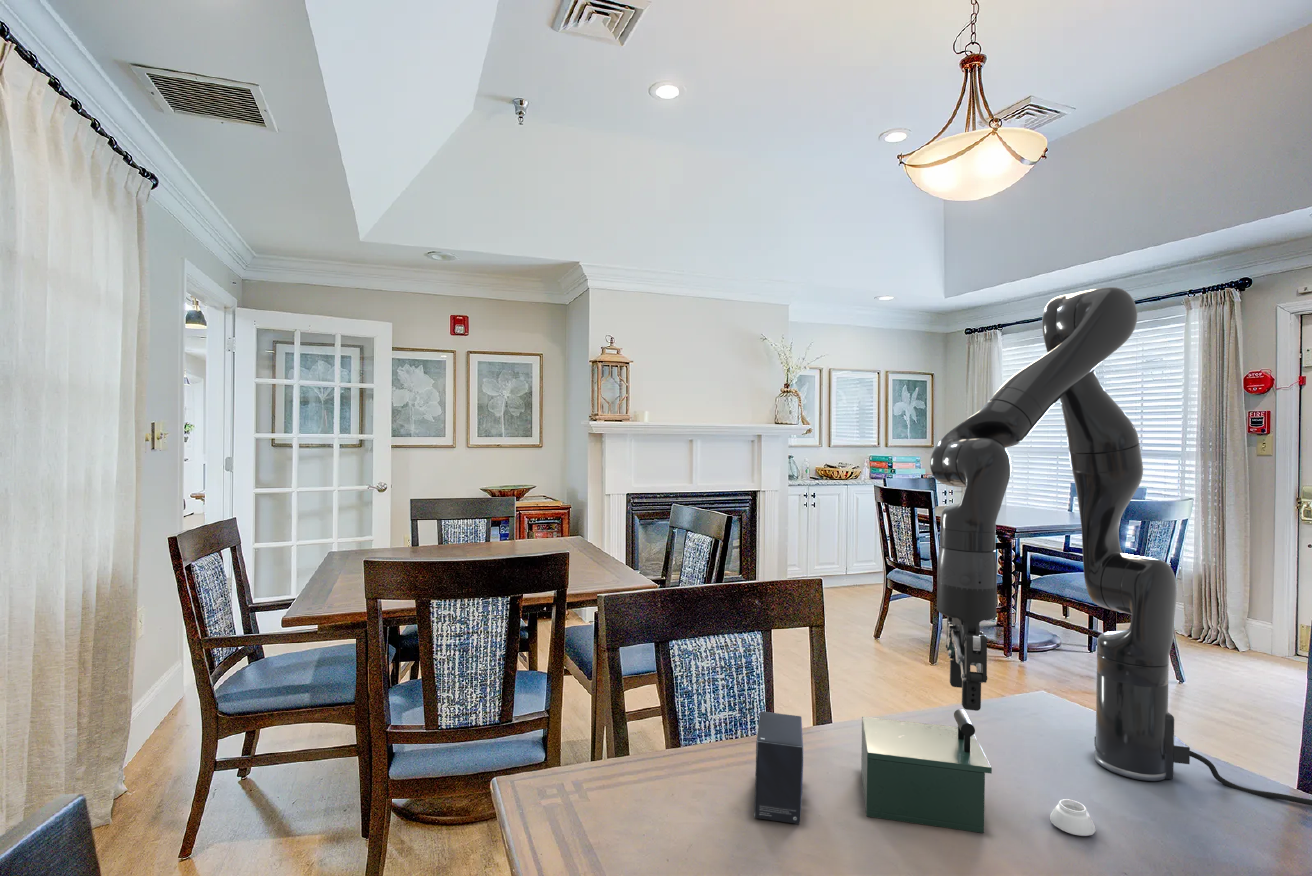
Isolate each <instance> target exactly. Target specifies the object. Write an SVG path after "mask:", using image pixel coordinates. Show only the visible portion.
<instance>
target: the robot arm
mask: <svg viewBox="0 0 1312 876" xmlns="http://www.w3.org/2000/svg"><path fill="white" fill-rule="evenodd" d="M1137 322H1138V309H1137V305H1136V301H1135V300H1134V298H1133V297H1132V295H1131V294H1130V293H1129V292H1128V291H1126V290H1124V289H1123V288H1119V287H1117V286H1116V287H1115V286H1105V287H1098V288H1092V289H1088V290H1082V291H1078V292H1077V291H1076V292H1072V293H1067V294H1062V295H1059V296H1056V297H1054V298H1052V299H1050V301H1048V303H1047V304H1046V306H1045V307H1044V310H1043V312H1042V317H1041V329H1042V337H1043V341H1044V345H1045V349H1046V352H1047V353H1045V354H1044V355H1042V356H1041V357H1040V358H1038V359H1036V360H1034V361H1033V362H1031V363H1030V364H1027V365H1026V366H1025V367H1023V368H1021V369H1020V370H1019V371H1017V372H1016V373H1014V374H1013V375H1011V377H1009V378H1008V379H1007V380H1006V381H1004V382H1003V383H1002V384H1001V386H999V387H998V388H997V389H996V390H995V392H994V393H993V394H992V395H991V396H990V398H989V399H988V400H987V401H986V402H985V403H984V404H983V406H982V407H981V408H980V409H979V410H978V411H977V412H976V413H974V414H972V415H971V416H969V417H968V418H966V419H965V420H963V421H962V422H960V423H959V424H958V425H956V426H955V427H954V428H952V429H951V430H950V431H948V432H947V433H946V434H944V436H942V437H941V438H940V440H938V442H937V443H936V444H935V446H934V447H933V450H932V452H931V455H930V459H929V469H930V472H931V474H932V476H933V477H934V479H935V480H936V481H938V482H939V483H941V484H943V485H945V486H949V487H957V488H964V491H963V495H962V497H961V500H960V502H959V503H956V504H949V505H947V506H945V507H944V508H943V509H942V511H941V514H940V524H939V525H940V526H939V527H940V528H939V529H940V530H939V553H938V558H937V573H936V575H937V578H936V581H937V582H936V589H937V590H936V610H937V611H938V613H939V614H941V615H943V616H945V617H946V644H945V648H946V651H948V652H947V656H948V659H949V684H950V686H951V687H953V688H959V689H961V706H962V707H963V710H967V711H976V712H977V711H980V710H981V707H982V684H983V683H984V684H985V683H987V681H988V641H989V640H988V638H987V635H985V633H984V632H983V631H981V626H980V624H981V622H983V621H991V620H993V619H995V618H996V616H997V604H998V603H997V599H998V598H997V597H998V596H997V595H998V563H997V555H996V554H997V553H996V552H997V551H996V539H997V533H996V532H997V531H996V530H997V519H998V517H999V513H1000V511H1001V507H1002V504H1003V501H1004V498H1005V494H1006V492H1007V488H1008V485H1009V483H1010V479H1011V478H1010V477H1011V472H1012V464H1011V463H1012V462H1011V457H1010V454H1009V452H1008V450H1007V448H1010V447H1014V446H1017V445H1019V444H1020V443H1022V441H1023V440H1025V438H1027V436H1028V435H1029V434H1030V433H1031V432H1032V431H1033V429H1034V428H1035V427H1036V426H1037V425H1038V423H1039V422H1040V421H1041V420H1042V419H1043V417H1044V416H1045V415H1046V414H1047V413H1048V411H1049V410H1050V409H1051V408H1052V407H1053V406H1054V405H1055V404H1056V403H1057V402H1058V401H1060V406H1061V412H1062V416H1063V422H1064V426H1065V432H1066V439H1067V449H1068V455H1069V461H1070V467H1071V472H1072V476H1073V481H1074V485H1075V486H1074V487H1075V491H1076V498H1077V504H1078V511H1079V512H1078V513H1079V519H1080V520H1079V521H1080V530H1081V544H1082V547H1081V548H1082V565H1083V566H1082V567H1083V576H1084V584H1085V588H1086V592H1087V594H1088V597H1089V598H1090V599H1091V601H1092V602H1093V603H1094V604H1095V605H1097V606H1098V607H1101V608H1104V609H1107V610H1110V611H1115V612H1117V613H1123V614H1127V615H1131V617H1130V623H1129V627H1128V628H1127V629H1125V630H1114V631H1113V630H1112V631H1105V632H1102V633H1100V634H1099V635H1098V637H1097V639H1096V682H1095V683H1096V688H1095V689H1096V690H1095V691H1096V694H1095V696H1096V697H1095V736H1094V749H1095V750H1094V760H1095V762H1096V763H1097V764H1098V765H1100V766H1101V767H1102V768H1104V769H1106V770H1108V771H1110V772H1112V773H1114V774H1117V775H1121V776H1123V777H1126V778H1129V779H1133V780H1134V779H1135V780H1140V781H1147V782H1157V781H1159V782H1160V781H1163V780H1174V776H1175V775H1174V773H1175V771H1174V768H1175V767H1174V766H1175V765H1174V764H1183V765H1190V762H1191V761H1190V760H1191V759H1190V758H1193V759H1195V760H1198V761H1200V762H1201V763H1202V764H1204V765H1205V766H1206V767H1208V768H1209V770H1210V773H1211V775H1212V776H1213V778H1214V779H1215V780H1216V781H1217V782H1218V783H1220V784H1222V785H1224V786H1226V787H1228V788H1231V789H1235V790H1238V791H1242V792H1245V793H1247V794H1248V793H1249V794H1252V795H1255V796H1258V797H1263V798H1267V799H1268V798H1269V799H1274V800H1281V801H1287V802H1292V803H1297V804H1301V805H1307V806H1310V807H1312V799H1310V798H1305V797H1301V796H1296V795H1290V794H1285V793H1279V792H1272V791H1265V790H1257V789H1252V788H1247V787H1244V786H1240V785H1237V784H1235V783H1234V782H1231V781H1230V780H1227V779H1226V778H1224V777H1222V776H1221V775H1220V774H1219V772H1218V770H1217V768H1216V766H1215V765H1214V764H1213V763H1212V761H1210V760H1209V759H1207V758H1206V757H1204V756H1203V755H1201V754H1199V753H1197V752H1194V751H1192V750H1191V748H1190V746H1189V745H1187V744H1186V743H1185V742H1184V741H1183V740H1181V739H1180V738H1179V737H1178V736H1177V735H1175V717H1174V715H1172V714H1171V713H1170V712H1169V670H1170V669H1169V668H1170V667H1169V664H1170V653H1171V649H1172V646H1173V642H1174V632H1175V617H1176V606H1177V596H1178V595H1177V592H1178V591H1177V589H1178V587H1177V579H1176V575H1175V573H1174V570H1173V569H1172V566H1170V564H1169V563H1167V562H1166V561H1164V560H1161V559H1158V558H1152V557H1146V556H1140V555H1134V554H1130V553H1129V554H1128V553H1124V552H1123V551H1122V548H1121V547H1122V546H1121V543H1120V523H1121V519H1122V517H1123V514H1124V512H1125V511H1126V508H1128V506H1129V504H1130V502H1131V501H1132V499H1133V498H1134V496H1135V494H1136V492H1137V490H1138V488H1139V487H1140V484H1141V482H1142V480H1143V475H1144V464H1143V458H1142V452H1141V446H1140V440H1139V434H1138V432H1137V429H1136V427H1135V425H1134V424H1133V422H1132V421H1131V419H1130V418H1129V417H1128V416H1127V414H1126V413H1125V411H1123V409H1122V408H1121V407H1120V406H1119V405H1118V404H1117V403H1116V402H1115V401H1114V399H1113V398H1112V397H1111V396H1110V395H1109V393H1108V392H1107V391H1106V390H1105V389H1104V387H1103V386H1102V384H1101V382H1100V381H1099V379H1098V377H1097V374H1096V371H1095V368H1096V367H1098V366H1099V365H1100V364H1101V363H1102V362H1103V361H1105V360H1106V359H1107V358H1109V357H1110V356H1111V355H1112V354H1113V353H1115V352H1116V351H1117V350H1118V349H1119V348H1121V347H1122V346H1123V345H1124V344H1126V342H1128V340H1129V339H1130V338H1131V336H1132V335H1133V333H1134V331H1135V329H1136V326H1137ZM971 666H973V667H975V669H976V671H971Z"/></svg>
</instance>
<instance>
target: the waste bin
mask: <svg viewBox="0 0 1312 876" xmlns="http://www.w3.org/2000/svg"><path fill="white" fill-rule="evenodd" d="M860 756H861V757H860V758H861V761H860V763H861V766H860V774H861V782H862V783H861V784H862V791H863V798H864V809H865V815H866V817H868V818H876V819H884V820H890V821H898V822H904V823H909V824H910V823H911V824H918V825H923V826H925V825H926V826H930V827H938V828H946V829H952V830H961V831H966V832H974V833H980V834H985V794H986V793H985V792H986V791H985V790H986V789H985V787H986V773H983V772H974V771H966V770H958V769H950V768H942V767H934V766H926V765H918V764H910V763H902V762H893V761H885V760H877V759H869V758H867V752H866V746H865V739H864V732H863V725H862V724H861V755H860Z"/></svg>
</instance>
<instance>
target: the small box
mask: <svg viewBox="0 0 1312 876" xmlns="http://www.w3.org/2000/svg"><path fill="white" fill-rule="evenodd" d="M803 735H804V734H803V721H802V716H801V715H796V714H795V715H794V714H785V713H779V712H770V711H764V710H760V712H759V719H758V725H757V733H756V743H755V781H754V783H755V784H754V786H755V787H754V804H753V818H754V819H761V820H767V821H768V820H769V821H774V822H782V823H789V824H796V825H800V824H801V815H802V805H803V804H802V802H803V780H804V737H803Z"/></svg>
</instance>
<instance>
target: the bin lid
mask: <svg viewBox="0 0 1312 876" xmlns="http://www.w3.org/2000/svg"><path fill="white" fill-rule="evenodd" d="M953 718H954V719H955V722H956V724H957V726H951V725H942V724H933V723H924V722H914V721H905V720H897V719H889V718H888V719H886V718H878V717H870V716H869V717H868V716H861V726H862V725H863V732H864V739H865V746H866V752H867V758H869V759H877V760H885V761H893V762H902V763H910V764H918V765H926V766H934V767H942V768H950V769H958V770H966V771H974V772H983V773H985V774H992V773H993V768H992V766H991V764H990V762H989V760H988V758H987V756H986V754H985V752H984V750H983V748H982V746H981V744H980V742H979V741H978V739H977V737H976V734H975V733H976V728H975V726H974V724H973V722H972V720H971V718H970V717H969V714H968V713H967V711H965V709H961V708H959V709H956V710H955V711H954V712H953Z"/></svg>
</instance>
